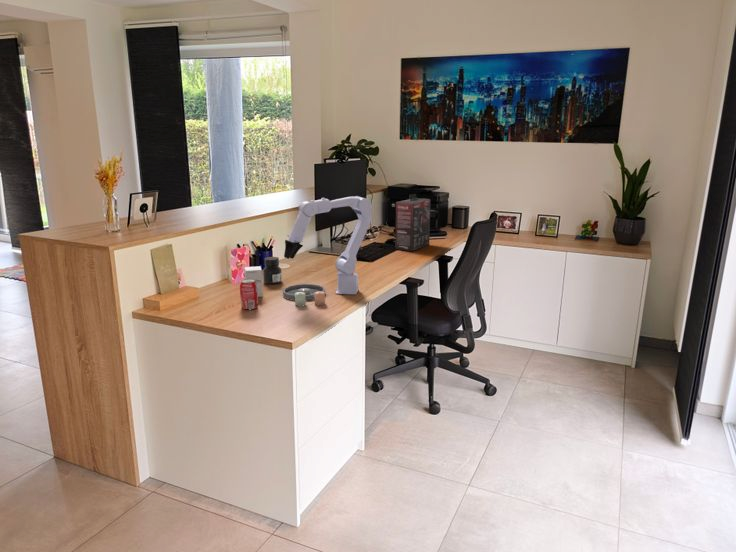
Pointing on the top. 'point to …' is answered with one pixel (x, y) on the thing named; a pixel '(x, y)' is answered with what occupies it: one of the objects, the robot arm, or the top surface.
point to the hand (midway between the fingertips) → (288, 258)
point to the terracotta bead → (319, 298)
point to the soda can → (248, 294)
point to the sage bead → (300, 299)
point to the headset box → (412, 223)
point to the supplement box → (255, 277)
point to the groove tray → (302, 290)
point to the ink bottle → (272, 271)
